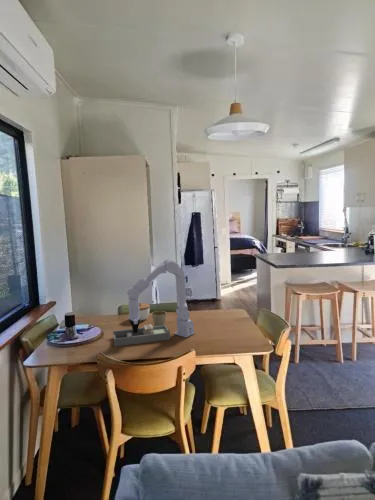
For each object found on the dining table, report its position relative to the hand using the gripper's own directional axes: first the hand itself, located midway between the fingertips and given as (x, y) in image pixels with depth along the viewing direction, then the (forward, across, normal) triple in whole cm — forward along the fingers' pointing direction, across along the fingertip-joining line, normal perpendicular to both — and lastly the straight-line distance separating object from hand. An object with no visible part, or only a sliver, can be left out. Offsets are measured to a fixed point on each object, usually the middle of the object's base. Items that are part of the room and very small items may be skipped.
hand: (135, 332), depth 197 cm
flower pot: (+4, -16, +16) cm, 23 cm away
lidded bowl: (+4, -35, +6) cm, 36 cm away
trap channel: (+4, 0, +3) cm, 5 cm away
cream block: (+1, 0, +8) cm, 8 cm away
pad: (+4, 0, +14) cm, 15 cm away
